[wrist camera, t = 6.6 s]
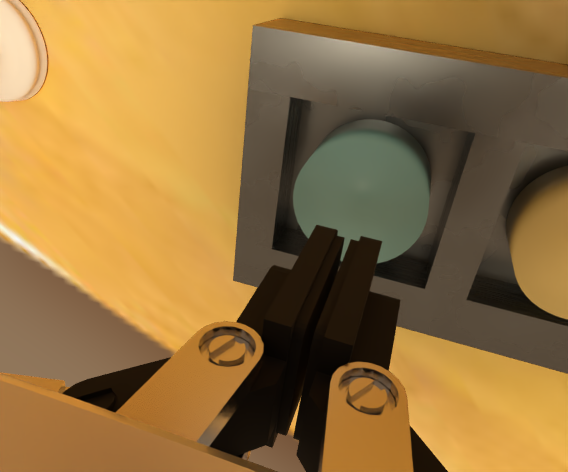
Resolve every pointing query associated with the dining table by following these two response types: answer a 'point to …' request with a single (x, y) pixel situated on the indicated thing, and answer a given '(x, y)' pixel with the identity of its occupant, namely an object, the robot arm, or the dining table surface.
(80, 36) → the dining table surface
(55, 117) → the dining table surface
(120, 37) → the dining table surface
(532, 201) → the mustard button
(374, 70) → the button panel
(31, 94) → the chess piece
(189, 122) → the dining table surface
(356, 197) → the teal button
